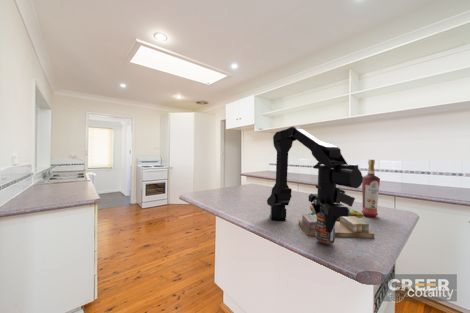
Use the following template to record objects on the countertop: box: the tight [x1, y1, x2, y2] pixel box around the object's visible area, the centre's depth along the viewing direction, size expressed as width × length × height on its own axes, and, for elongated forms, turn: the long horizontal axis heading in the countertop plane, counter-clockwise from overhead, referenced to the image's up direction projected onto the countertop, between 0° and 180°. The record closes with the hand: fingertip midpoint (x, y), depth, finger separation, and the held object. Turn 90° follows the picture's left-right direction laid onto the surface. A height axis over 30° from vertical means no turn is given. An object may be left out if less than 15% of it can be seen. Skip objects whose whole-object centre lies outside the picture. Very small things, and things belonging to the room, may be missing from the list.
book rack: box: [298, 214, 375, 239], centre depth 79 cm, size 24×12×4 cm, turn 87°
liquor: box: [361, 159, 381, 218], centre depth 98 cm, size 7×7×28 cm
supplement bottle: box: [315, 206, 337, 245], centre depth 67 cm, size 6×6×11 cm
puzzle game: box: [309, 204, 364, 222], centre depth 95 cm, size 12×5×20 cm
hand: (325, 228), depth 67 cm, fingers closed on supplement bottle, 6 cm apart
